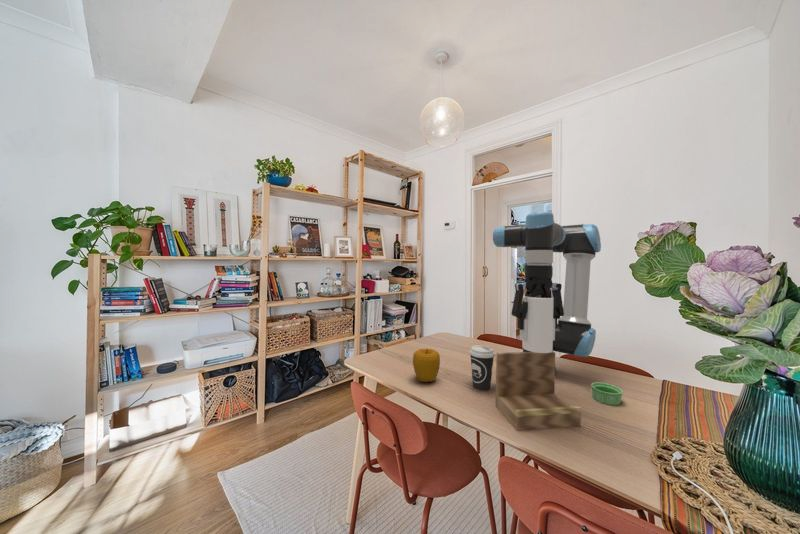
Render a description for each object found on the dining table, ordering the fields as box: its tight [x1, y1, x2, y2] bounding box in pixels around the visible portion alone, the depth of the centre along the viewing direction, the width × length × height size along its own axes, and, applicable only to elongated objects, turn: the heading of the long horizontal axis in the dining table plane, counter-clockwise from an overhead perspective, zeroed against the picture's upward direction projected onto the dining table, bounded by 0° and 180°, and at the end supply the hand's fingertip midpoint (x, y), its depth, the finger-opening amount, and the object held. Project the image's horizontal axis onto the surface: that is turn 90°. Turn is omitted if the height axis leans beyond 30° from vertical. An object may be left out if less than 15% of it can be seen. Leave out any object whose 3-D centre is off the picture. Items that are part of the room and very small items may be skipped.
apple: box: [412, 348, 441, 383], centre depth 115 cm, size 11×11×13 cm
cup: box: [521, 294, 554, 353], centre depth 86 cm, size 8×8×16 cm
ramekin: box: [590, 381, 624, 406], centre depth 100 cm, size 9×9×4 cm
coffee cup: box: [468, 344, 496, 392], centre depth 109 cm, size 10×10×15 cm
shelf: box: [495, 351, 582, 431], centre depth 89 cm, size 20×14×18 cm
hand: (537, 339), depth 86 cm, fingers closed on cup, 8 cm apart
